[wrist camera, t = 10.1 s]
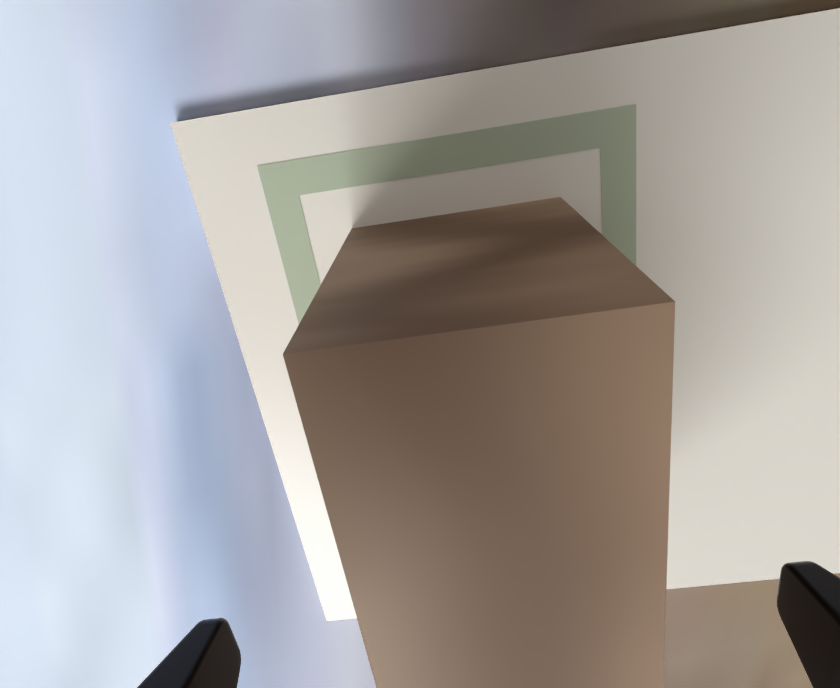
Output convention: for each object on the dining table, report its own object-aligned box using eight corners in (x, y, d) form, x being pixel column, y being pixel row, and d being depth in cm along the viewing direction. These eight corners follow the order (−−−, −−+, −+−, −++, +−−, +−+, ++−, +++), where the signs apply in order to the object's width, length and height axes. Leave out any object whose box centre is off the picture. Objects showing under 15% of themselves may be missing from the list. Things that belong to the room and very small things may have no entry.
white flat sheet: (1345, -79, 11) (1369, -84, 11) (1083, 541, 18) (1094, 549, 17) (175, 122, 13) (169, 122, 13) (328, 613, 20) (326, 621, 19)
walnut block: (560, 197, 13) (675, 301, 7) (578, 525, 18) (660, 779, 11) (351, 228, 14) (282, 354, 7) (416, 542, 18) (407, 796, 12)
